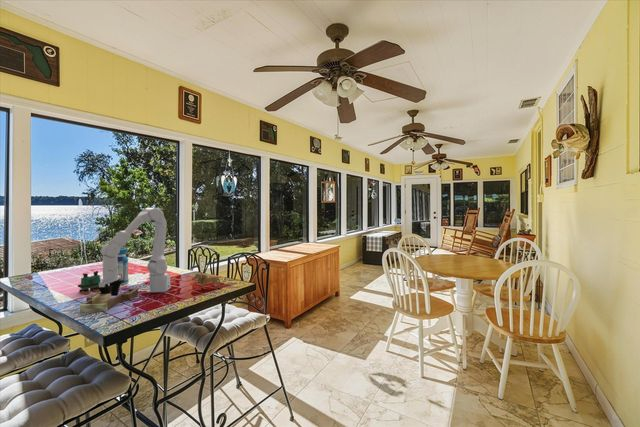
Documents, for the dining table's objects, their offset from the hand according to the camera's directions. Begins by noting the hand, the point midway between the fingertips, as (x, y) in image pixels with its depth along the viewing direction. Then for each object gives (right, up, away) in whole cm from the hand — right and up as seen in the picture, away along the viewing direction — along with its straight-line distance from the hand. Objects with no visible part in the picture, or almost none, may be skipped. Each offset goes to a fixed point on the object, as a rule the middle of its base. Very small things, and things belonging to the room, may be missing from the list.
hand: (110, 298), depth 138 cm
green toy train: (-21, -1, +14) cm, 26 cm away
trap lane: (0, -1, 0) cm, 1 cm away
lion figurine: (+38, -1, +21) cm, 44 cm away
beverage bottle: (-15, 0, +29) cm, 33 cm away
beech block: (+1, -2, -7) cm, 8 cm away
